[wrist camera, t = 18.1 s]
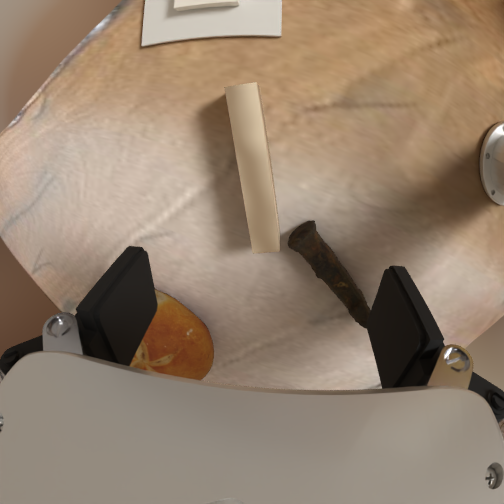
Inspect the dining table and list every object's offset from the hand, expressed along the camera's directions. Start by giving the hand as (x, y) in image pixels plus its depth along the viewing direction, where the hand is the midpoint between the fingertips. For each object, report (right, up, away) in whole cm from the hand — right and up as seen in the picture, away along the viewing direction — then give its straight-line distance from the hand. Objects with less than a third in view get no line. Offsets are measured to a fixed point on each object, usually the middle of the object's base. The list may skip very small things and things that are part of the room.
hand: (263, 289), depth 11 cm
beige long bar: (0, +12, +21) cm, 24 cm away
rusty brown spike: (+12, -1, +27) cm, 29 cm away
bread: (-17, -11, +36) cm, 41 cm away
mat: (-5, +31, +10) cm, 33 cm away
